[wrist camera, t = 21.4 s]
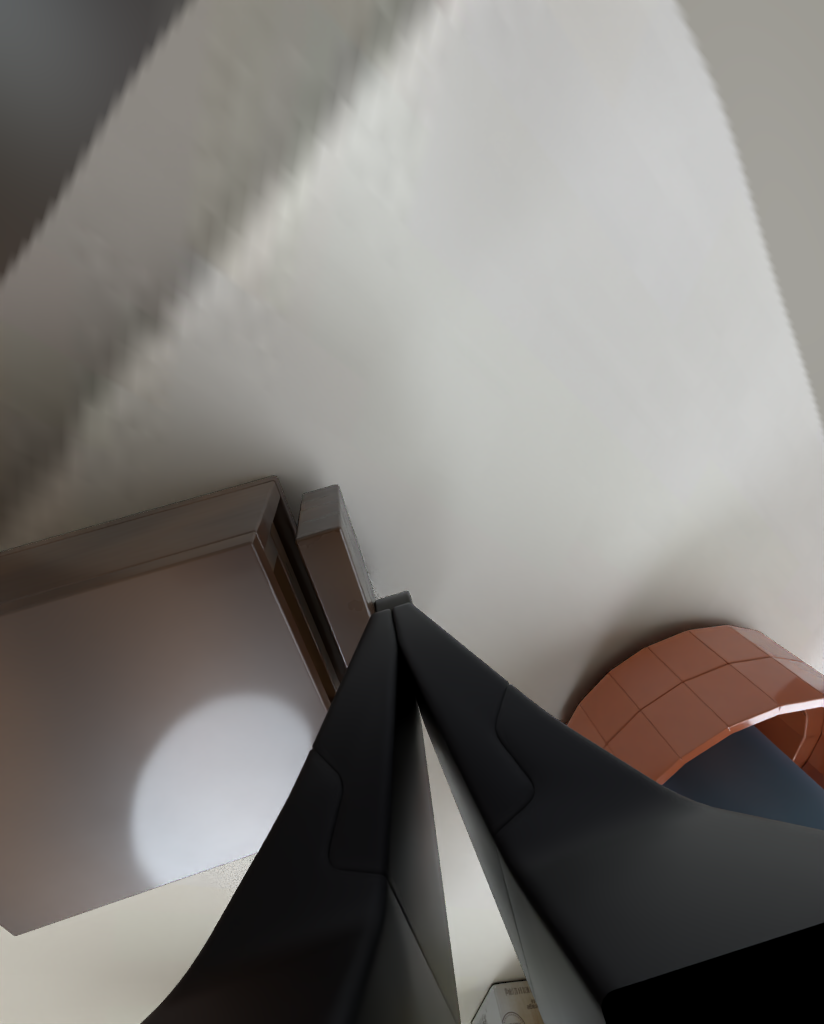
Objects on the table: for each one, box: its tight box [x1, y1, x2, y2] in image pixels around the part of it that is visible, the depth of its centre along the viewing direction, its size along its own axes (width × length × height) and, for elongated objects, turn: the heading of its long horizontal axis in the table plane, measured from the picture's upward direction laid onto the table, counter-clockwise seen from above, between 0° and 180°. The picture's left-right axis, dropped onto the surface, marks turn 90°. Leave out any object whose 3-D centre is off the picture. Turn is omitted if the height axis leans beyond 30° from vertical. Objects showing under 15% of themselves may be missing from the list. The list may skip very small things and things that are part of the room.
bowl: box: [567, 625, 824, 789], centre depth 20 cm, size 13×13×5 cm
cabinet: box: [0, 476, 346, 936], centre depth 13 cm, size 11×10×5 cm
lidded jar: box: [662, 725, 824, 830], centre depth 17 cm, size 6×6×11 cm
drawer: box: [264, 485, 413, 703], centre depth 14 cm, size 12×9×3 cm
